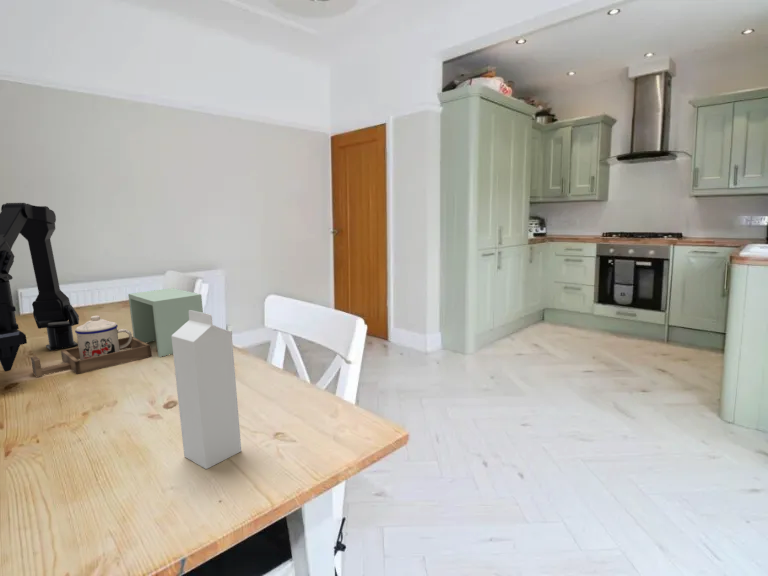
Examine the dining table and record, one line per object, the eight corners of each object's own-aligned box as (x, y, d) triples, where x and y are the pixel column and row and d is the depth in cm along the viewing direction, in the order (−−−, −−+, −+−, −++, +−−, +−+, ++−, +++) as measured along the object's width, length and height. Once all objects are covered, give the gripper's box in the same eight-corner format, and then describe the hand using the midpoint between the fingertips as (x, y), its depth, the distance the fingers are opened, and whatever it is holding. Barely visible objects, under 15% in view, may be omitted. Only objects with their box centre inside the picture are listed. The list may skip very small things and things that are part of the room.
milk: (219, 440, 70) (207, 306, 67) (242, 451, 66) (231, 310, 63) (183, 457, 65) (168, 313, 62) (205, 470, 62) (191, 318, 58)
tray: (29, 368, 107) (26, 353, 106) (133, 346, 124) (131, 332, 123) (41, 382, 97) (38, 365, 97) (151, 356, 114) (150, 341, 114)
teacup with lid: (79, 368, 106) (72, 322, 104) (80, 359, 114) (74, 315, 112) (135, 359, 112) (130, 315, 111) (132, 350, 120) (127, 309, 118)
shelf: (134, 344, 126) (128, 293, 124) (177, 334, 135) (172, 288, 133) (159, 357, 113) (153, 301, 111) (206, 346, 122) (201, 294, 120)
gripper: (-59, 304, 96) (-46, 371, 99) (-53, 315, 84) (-38, 392, 86) (7, 296, 104) (17, 358, 107) (21, 305, 92) (32, 376, 94)
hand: (7, 370), depth 98 cm, fingers closed
